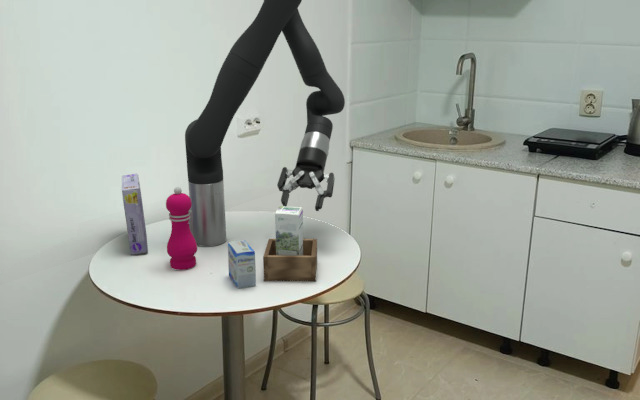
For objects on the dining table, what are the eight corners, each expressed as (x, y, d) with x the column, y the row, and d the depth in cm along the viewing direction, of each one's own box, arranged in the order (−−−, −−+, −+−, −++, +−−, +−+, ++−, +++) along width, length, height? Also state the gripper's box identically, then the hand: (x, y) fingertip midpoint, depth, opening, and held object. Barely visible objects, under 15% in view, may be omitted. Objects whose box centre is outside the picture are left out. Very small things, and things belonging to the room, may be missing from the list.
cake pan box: (127, 232, 168) (121, 172, 163) (145, 230, 170) (140, 171, 165) (128, 256, 151) (121, 190, 146) (148, 254, 152) (142, 188, 147)
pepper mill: (203, 261, 147) (198, 184, 142) (188, 272, 141) (182, 192, 135) (178, 258, 150) (172, 182, 144) (162, 268, 143) (155, 189, 137)
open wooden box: (263, 281, 136) (263, 256, 134) (269, 261, 148) (268, 238, 146) (315, 281, 136) (315, 257, 134) (317, 261, 147) (317, 238, 146)
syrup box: (304, 262, 144) (303, 206, 140) (299, 272, 139) (298, 213, 134) (281, 261, 145) (279, 204, 141) (275, 270, 139) (274, 212, 135)
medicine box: (228, 276, 139) (226, 241, 136) (246, 273, 141) (245, 239, 138) (237, 289, 132) (236, 253, 130) (256, 286, 134) (255, 250, 131)
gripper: (285, 142, 154) (270, 197, 147) (338, 148, 151) (326, 204, 144) (290, 157, 160) (276, 210, 154) (341, 163, 158) (329, 217, 151)
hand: (300, 207), depth 149 cm, fingers open, 8 cm apart
